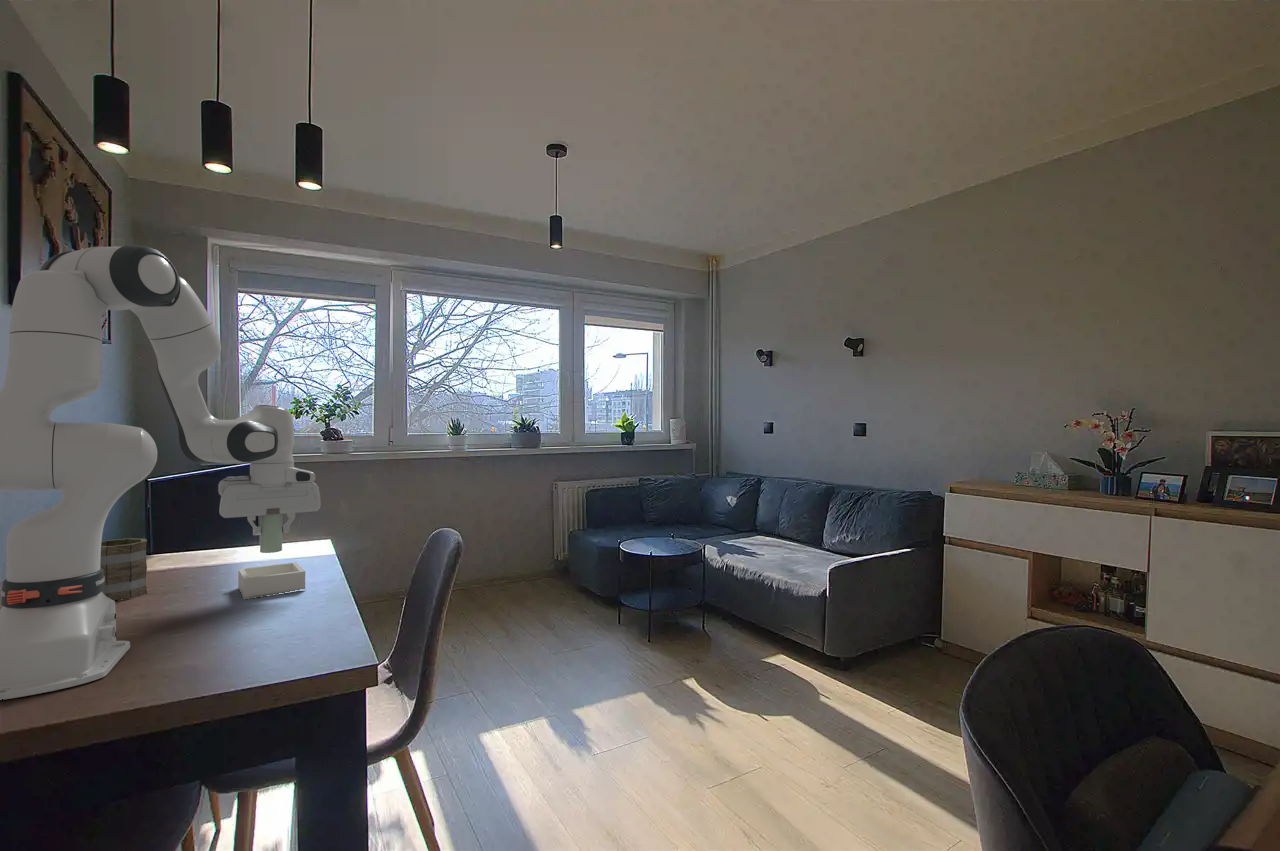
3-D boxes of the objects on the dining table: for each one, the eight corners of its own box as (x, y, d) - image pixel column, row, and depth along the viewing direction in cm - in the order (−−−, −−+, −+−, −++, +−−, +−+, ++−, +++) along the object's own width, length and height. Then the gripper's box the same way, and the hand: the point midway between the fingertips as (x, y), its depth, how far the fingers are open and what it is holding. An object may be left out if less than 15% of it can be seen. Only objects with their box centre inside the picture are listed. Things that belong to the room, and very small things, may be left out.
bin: (305, 591, 141) (305, 571, 141) (243, 600, 133) (244, 579, 133) (296, 580, 150) (296, 561, 150) (238, 588, 142) (238, 568, 142)
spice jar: (284, 551, 142) (284, 508, 141) (261, 553, 139) (261, 509, 139) (280, 548, 145) (281, 505, 145) (258, 550, 142) (258, 507, 142)
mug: (158, 592, 138) (159, 540, 138) (100, 605, 129) (101, 549, 129) (121, 584, 145) (121, 534, 145) (63, 596, 135) (63, 542, 135)
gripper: (219, 478, 133) (218, 540, 133) (322, 473, 145) (321, 531, 146) (217, 475, 138) (216, 536, 138) (317, 471, 150) (316, 527, 151)
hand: (271, 533), depth 142 cm, fingers closed on spice jar, 4 cm apart
